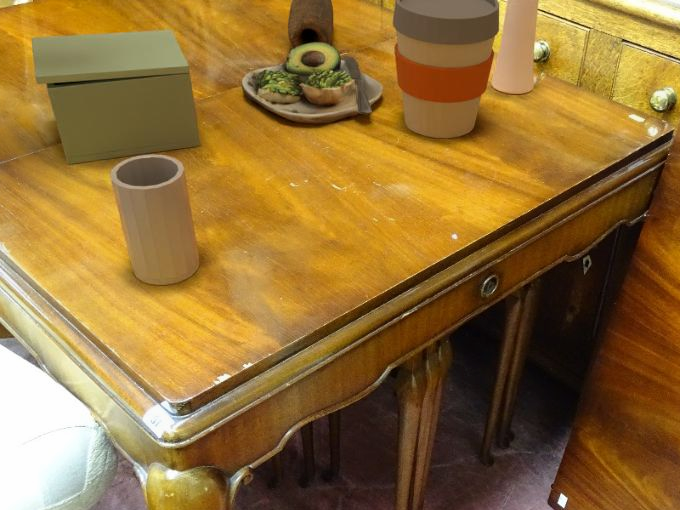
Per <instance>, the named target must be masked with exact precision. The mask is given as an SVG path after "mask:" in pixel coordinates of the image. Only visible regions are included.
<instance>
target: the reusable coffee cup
mask: <svg viewBox="0 0 680 510" xmlns="http://www.w3.org/2000/svg"><path fill="white" fill-rule="evenodd" d="M392 17H393V18H392V26H393V28H394V29H395V35H396V43H395V44H394V47H393V48H394V49H393V50H394V58H395V69H396V77H397V78H396V79H397V85H398V87H399V89H400V90H401V96H402V105H403V106H402V107H403V116H404V117H403V118H404V123H405V126H406V127H407V128H408V129H409V130H410V131H412V132H414V133H416V134H418V135H421V136H424V137H429V138H436V139H449V138H450V139H453V138H457V137H461V136H462V137H463V136H464V135H467V134H469V133H470V132H471V131H472V130H473V129H474V128H475V125H476V120H477V115H478V111H479V107H480V102H481V98H482V95H484V94H485V92H486V90H487V87H488V83H489V79H490V75H491V70H492V66H493V63H494V58H495V51H494V49H493V47H494V44H495V43H494V42H495V39H496V36H497V35H498V33H499V32H500V2H499V0H395V1H394V9H393V16H392Z"/></svg>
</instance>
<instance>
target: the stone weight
mask: <svg viewBox="0 0 680 510" xmlns="http://www.w3.org/2000/svg"><path fill="white" fill-rule="evenodd" d="M333 6H334V5H333V1H332V0H292V1H291V4H290V8H289V14H288V19H287V21H288V22H287V34H288V36H287V37H288V39H289V43H290V44H291V46H292V48H293V49H294V48H295V47H297V46H300V45H303V44H307V43H313V42H322V43H326V44H330V45H331V43H332V38H333V33H334V7H333Z"/></svg>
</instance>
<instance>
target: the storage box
mask: <svg viewBox="0 0 680 510" xmlns="http://www.w3.org/2000/svg"><path fill="white" fill-rule="evenodd" d="M46 90H47V91H46V92H47V94H48V98H49V102H50V105H51V108H52V112H53V115H54V119H55V123H56V127H57V130H58V134H59V138H60V142H61V144H62V148H63V152H64V156H65V159H66V163H67V165H74V164H81V163H87V162H94V161H95V162H96V161H103V160H109V159H110V160H111V159H116V158H125V157H130V156H140V155H147V154H154V153H158V152H167V151H173V150H180V149H188V148H194V147H195V148H196V147H201V146H202V145H201V138H200V131H199V125H198V118H197V113H196V112H197V111H196V104H195V99H194V90H193V85H192V78H191V72H190V73H179V74H166V75H153V76H139V77H126V78H113V79H100V80H86V81H73V82H60V83H47V84H46Z"/></svg>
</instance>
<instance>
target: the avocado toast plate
mask: <svg viewBox="0 0 680 510" xmlns="http://www.w3.org/2000/svg"><path fill="white" fill-rule="evenodd" d="M285 57H286V60H285V61H284V63H282V64H279V65H273V66H267V67H262V68H257V69H255V70H250V71H249V72H247V73H246V74H245V75H243V78H242V79H241V89H242V91H243V93H244V95H245V96H246V97H247V98H248V99H249V100H250V101H252V102H254V103H256V104H258V105H259V106H261V107H263V109H266V110H267V111H270V112H271V113H273V114H276V115H277V116H280V117H283V118H285V119H286V120H289V121H291V122H294V123H303V124H316V125H318V124H327V123H328V124H329V123H333V122H336V121H339V120H343V119H346V118H349V117H355V116H357V115H359V114H361V115H370V114H372V113H373V108H372V105H374V103H376V102H377V101H379V99H380V98H381V96H382V94H383V91H384V87H383V84H382V83H380V82H379V81H377V80H376V79H375V78H372V77H371V76H369V75H367V74H365V72H362V71H361V70H360V68H359V62H358V61H357V59H356V58H355V57H353V56H347V55H345V56H343V58H341V54H340V52H339V50H338V49H337V48H336V47H335V46H333V45H331V43H330V44H326V43H322V42H313V43H307V44H303V45H300V46H297V47H295V48H294V47H293V48H292V49H291V50H290V51H289V52H288V54H286V56H285Z"/></svg>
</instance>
